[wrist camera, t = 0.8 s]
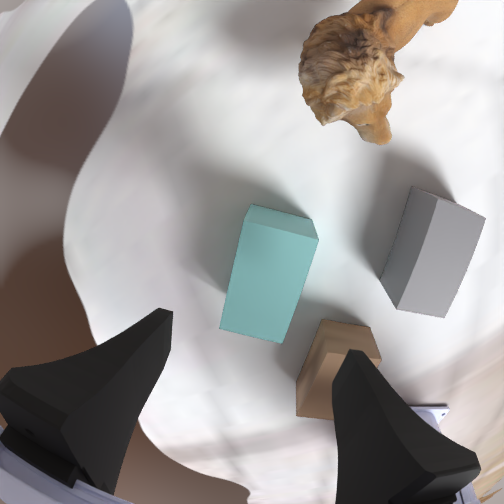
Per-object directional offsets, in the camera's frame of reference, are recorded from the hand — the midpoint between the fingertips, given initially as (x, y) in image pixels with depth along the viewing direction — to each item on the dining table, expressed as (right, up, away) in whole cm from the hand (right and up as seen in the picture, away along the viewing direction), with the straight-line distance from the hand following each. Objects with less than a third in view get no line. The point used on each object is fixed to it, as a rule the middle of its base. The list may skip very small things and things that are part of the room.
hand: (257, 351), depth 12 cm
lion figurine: (+7, +16, +3) cm, 18 cm away
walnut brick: (+6, -4, +12) cm, 14 cm away
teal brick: (+1, +3, +9) cm, 10 cm away
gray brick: (+11, +5, +7) cm, 14 cm away
